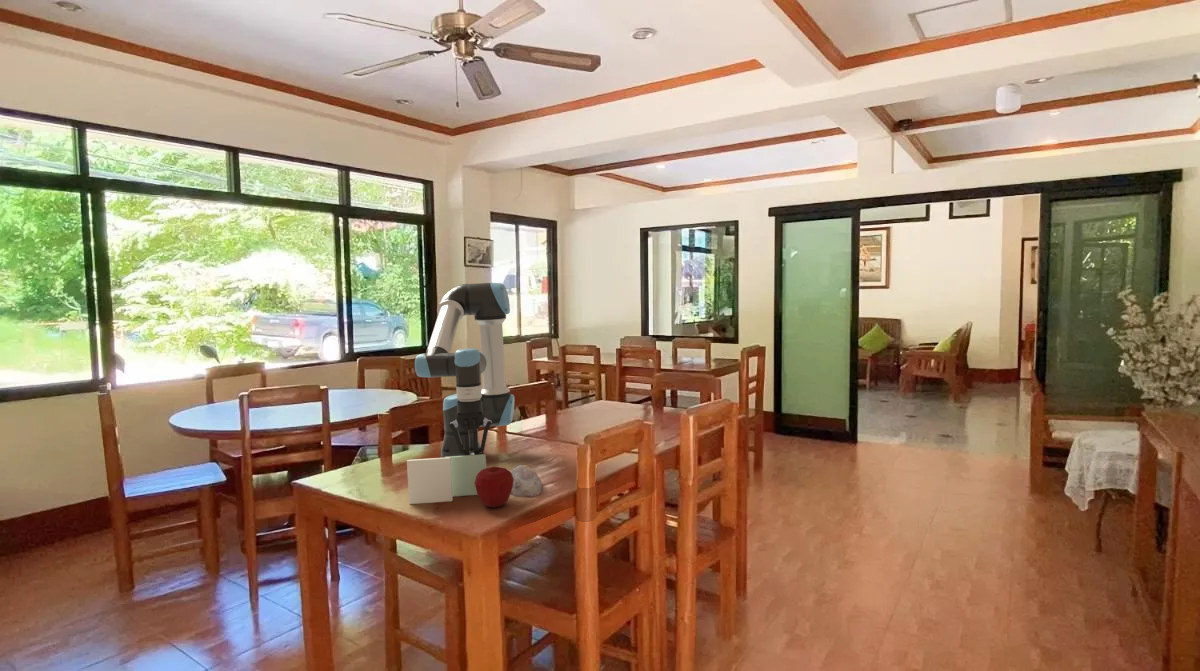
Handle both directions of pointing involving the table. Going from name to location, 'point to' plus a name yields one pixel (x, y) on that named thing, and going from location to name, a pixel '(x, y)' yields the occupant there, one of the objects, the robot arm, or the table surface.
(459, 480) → the door
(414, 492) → the wall
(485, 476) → the apple
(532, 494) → the stone
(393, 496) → the table surface
